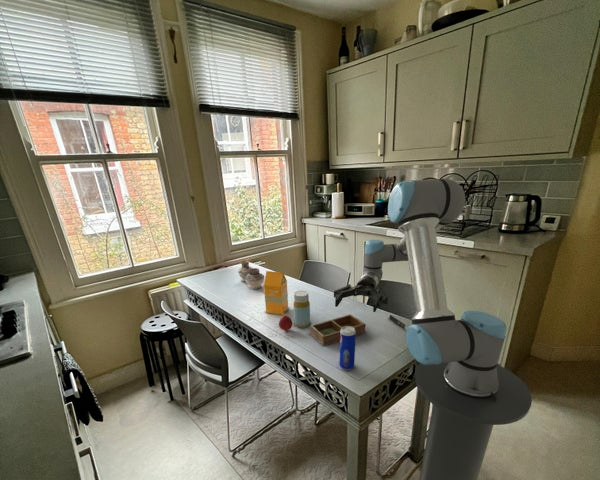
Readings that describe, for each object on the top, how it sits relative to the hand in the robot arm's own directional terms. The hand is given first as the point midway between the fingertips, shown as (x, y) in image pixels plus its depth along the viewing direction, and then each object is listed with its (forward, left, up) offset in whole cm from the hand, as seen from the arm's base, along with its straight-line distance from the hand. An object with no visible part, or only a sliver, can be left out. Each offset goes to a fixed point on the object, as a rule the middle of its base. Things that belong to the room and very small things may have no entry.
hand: (354, 305), depth 111 cm
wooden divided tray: (+15, -3, -20) cm, 25 cm away
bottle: (+30, +6, -20) cm, 37 cm away
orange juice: (+49, +10, -20) cm, 54 cm away
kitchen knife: (+5, -30, -20) cm, 36 cm away
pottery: (+91, +9, -20) cm, 94 cm away
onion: (+28, +15, -20) cm, 38 cm away
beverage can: (-6, +7, -20) cm, 22 cm away
